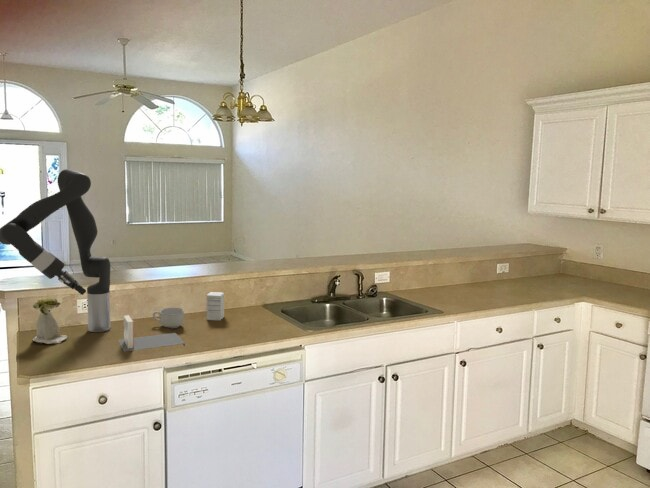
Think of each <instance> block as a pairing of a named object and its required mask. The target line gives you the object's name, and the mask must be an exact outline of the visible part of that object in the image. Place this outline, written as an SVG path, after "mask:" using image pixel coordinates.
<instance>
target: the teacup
mask: <svg viewBox="0 0 650 488" xmlns="http://www.w3.org/2000/svg"><path fill="white" fill-rule="evenodd" d="M184 313H185V309H183V308H181V307H174V306H173V307H172V306H170V307H165V308H162V309H161V310H160V311H159V310H155V311H153V313H152V318H153V319H154V320H155V321H157V322H158V323H159V324H161V325H162V326H163V327H164V328H168V329H170V330H171V329H177V328H179V327H180V326H182V324H183V323H184V320H185V319H184V317H185V316H184V315H185V314H184ZM156 314H158V316H159V317H160V318H159V317H158V318H157V316H156Z"/></svg>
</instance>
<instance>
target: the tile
mask: <svg viewBox="0 0 650 488" xmlns="http://www.w3.org/2000/svg"><path fill="white" fill-rule="evenodd" d="M134 338H135V321H134V320H133V318H132V317H131V315H129V314H127V315H123V339H124V342H125V344H126V346H127V348H133V347H134Z"/></svg>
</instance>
